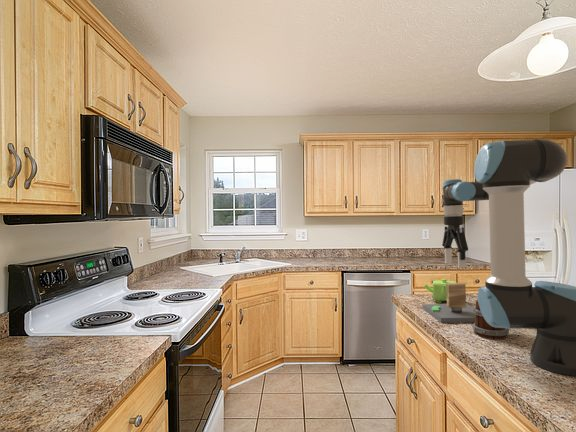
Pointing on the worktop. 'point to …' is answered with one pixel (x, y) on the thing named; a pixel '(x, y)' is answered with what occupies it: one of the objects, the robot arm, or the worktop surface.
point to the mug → (487, 326)
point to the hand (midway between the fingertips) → (454, 265)
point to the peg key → (456, 296)
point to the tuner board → (450, 313)
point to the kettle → (439, 289)
